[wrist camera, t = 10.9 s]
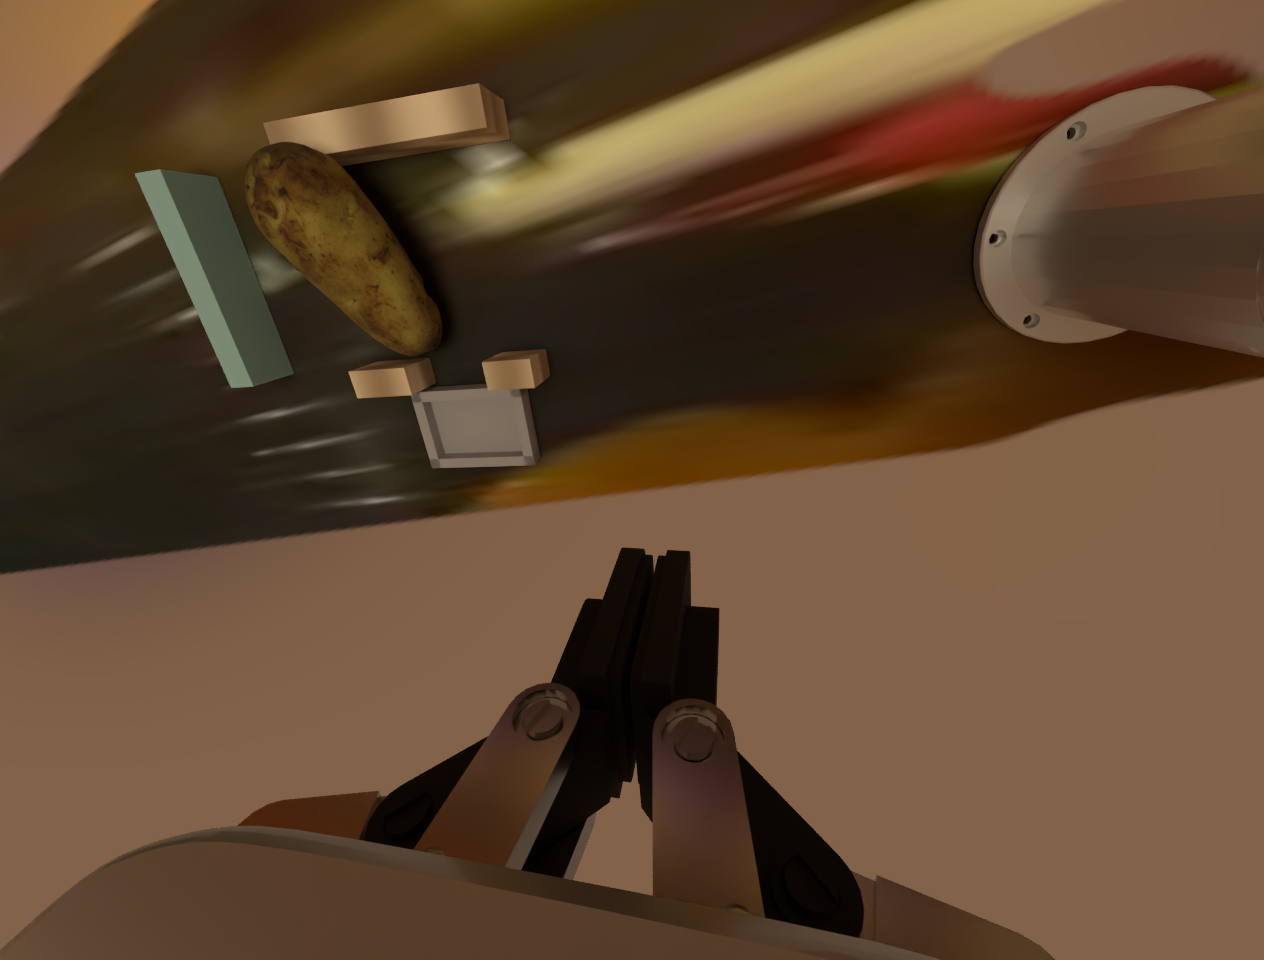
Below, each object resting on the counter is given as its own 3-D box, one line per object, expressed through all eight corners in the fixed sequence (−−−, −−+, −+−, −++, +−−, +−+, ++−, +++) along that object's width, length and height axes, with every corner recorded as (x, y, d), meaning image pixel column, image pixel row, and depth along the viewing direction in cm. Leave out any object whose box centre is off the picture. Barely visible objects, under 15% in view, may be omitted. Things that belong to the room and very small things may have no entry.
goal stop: (217, 177, 34) (159, 169, 31) (294, 373, 40) (253, 386, 37) (194, 181, 35) (134, 173, 31) (273, 375, 41) (231, 387, 37)
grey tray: (526, 381, 37) (519, 386, 36) (540, 457, 40) (534, 465, 39) (420, 387, 39) (410, 392, 38) (441, 461, 42) (432, 468, 40)
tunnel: (503, 100, 30) (479, 83, 27) (550, 375, 37) (534, 387, 34) (306, 134, 32) (263, 122, 29) (386, 386, 39) (357, 398, 36)
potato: (369, 356, 39) (290, 380, 31) (304, 166, 33) (191, 144, 26) (464, 346, 37) (404, 370, 30) (413, 145, 32) (325, 116, 25)
